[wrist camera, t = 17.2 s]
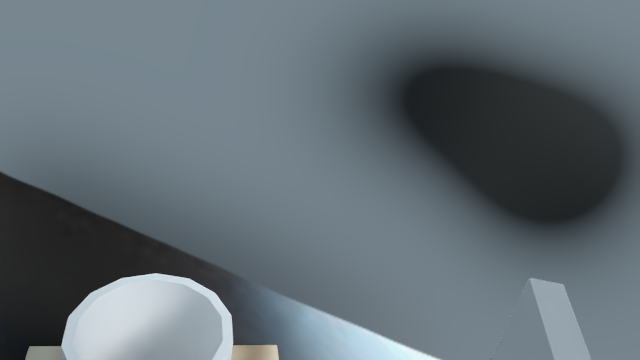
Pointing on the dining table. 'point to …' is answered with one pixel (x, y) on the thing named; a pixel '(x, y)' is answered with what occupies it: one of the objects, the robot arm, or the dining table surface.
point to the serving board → (243, 356)
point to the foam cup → (149, 322)
